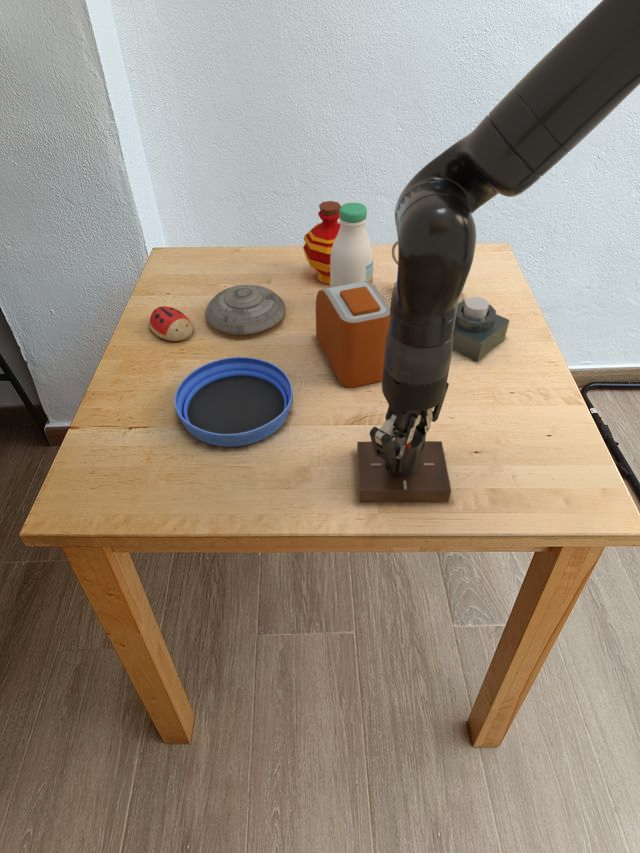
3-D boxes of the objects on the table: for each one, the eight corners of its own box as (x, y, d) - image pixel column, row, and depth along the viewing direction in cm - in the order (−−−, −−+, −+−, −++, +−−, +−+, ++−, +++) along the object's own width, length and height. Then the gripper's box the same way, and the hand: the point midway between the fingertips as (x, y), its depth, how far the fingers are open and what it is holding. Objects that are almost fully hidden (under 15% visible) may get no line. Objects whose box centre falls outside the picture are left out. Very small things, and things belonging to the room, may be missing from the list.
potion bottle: (356, 264, 122) (358, 194, 112) (353, 291, 115) (355, 219, 105) (306, 263, 123) (304, 193, 113) (300, 289, 116) (297, 217, 105)
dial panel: (439, 452, 84) (441, 440, 83) (448, 502, 78) (451, 489, 76) (356, 453, 85) (357, 440, 83) (359, 502, 78) (360, 490, 76)
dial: (384, 454, 81) (386, 424, 77) (415, 451, 81) (419, 422, 77) (389, 478, 78) (392, 448, 74) (421, 475, 78) (426, 446, 74)
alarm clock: (391, 379, 96) (398, 309, 87) (343, 390, 94) (344, 320, 85) (360, 329, 106) (363, 262, 97) (315, 338, 104) (314, 270, 95)
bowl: (249, 468, 83) (246, 452, 80) (154, 423, 90) (149, 406, 87) (315, 395, 94) (314, 378, 91) (226, 360, 100) (223, 343, 98)
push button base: (504, 338, 104) (512, 310, 99) (477, 362, 99) (483, 333, 95) (462, 319, 108) (467, 290, 104) (433, 340, 103) (438, 312, 99)
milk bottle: (355, 326, 107) (359, 222, 93) (322, 311, 110) (320, 209, 96) (378, 306, 111) (385, 205, 97) (345, 293, 115) (347, 193, 100)
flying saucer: (295, 300, 113) (294, 275, 109) (272, 345, 103) (269, 320, 99) (223, 290, 116) (219, 266, 112) (193, 334, 106) (188, 308, 102)
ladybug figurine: (173, 349, 103) (169, 332, 100) (140, 327, 108) (136, 311, 105) (202, 332, 106) (199, 315, 104) (169, 311, 111) (166, 295, 109)
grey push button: (491, 312, 100) (493, 302, 98) (478, 322, 98) (480, 312, 96) (471, 303, 102) (473, 293, 100) (458, 313, 100) (460, 303, 98)
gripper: (424, 320, 72) (412, 418, 84) (351, 378, 65) (349, 477, 77) (478, 344, 68) (456, 443, 81) (407, 408, 61) (395, 506, 73)
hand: (404, 459), depth 79 cm, fingers closed on dial, 4 cm apart
